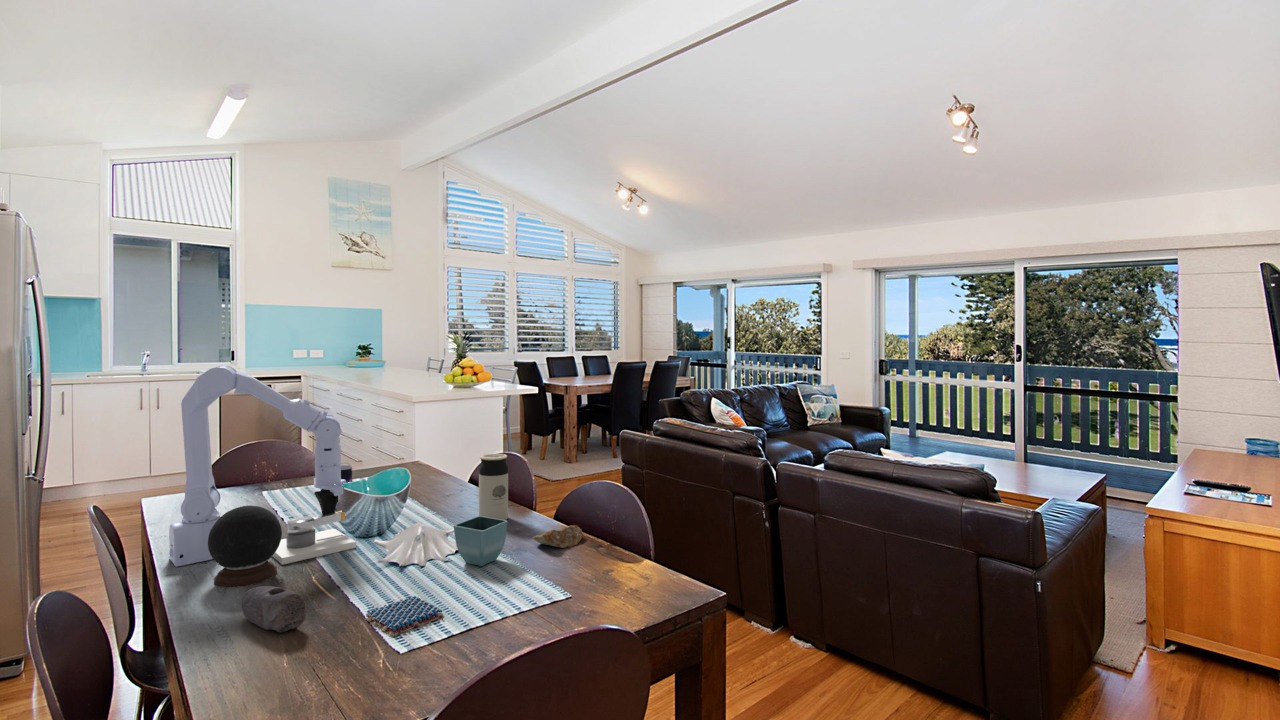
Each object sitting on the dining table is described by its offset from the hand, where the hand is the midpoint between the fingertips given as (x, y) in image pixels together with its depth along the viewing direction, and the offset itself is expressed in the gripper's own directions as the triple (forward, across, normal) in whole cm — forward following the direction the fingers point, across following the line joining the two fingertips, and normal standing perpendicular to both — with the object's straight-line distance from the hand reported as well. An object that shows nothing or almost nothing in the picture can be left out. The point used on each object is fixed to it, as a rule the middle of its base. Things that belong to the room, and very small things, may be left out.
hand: (328, 518), depth 153 cm
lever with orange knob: (+1, -2, +3) cm, 4 cm away
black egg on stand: (+6, -12, +21) cm, 25 cm away
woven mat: (+6, -54, +6) cm, 54 cm away
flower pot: (+6, -39, -19) cm, 44 cm away
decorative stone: (+6, -41, -40) cm, 58 cm away
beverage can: (+6, +33, -16) cm, 37 cm away
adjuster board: (+6, -3, +5) cm, 8 cm away
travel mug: (+6, -13, -39) cm, 42 cm away
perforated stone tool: (+6, -40, +24) cm, 47 cm away
